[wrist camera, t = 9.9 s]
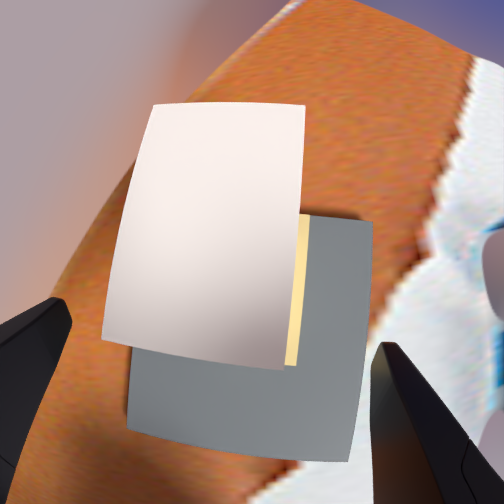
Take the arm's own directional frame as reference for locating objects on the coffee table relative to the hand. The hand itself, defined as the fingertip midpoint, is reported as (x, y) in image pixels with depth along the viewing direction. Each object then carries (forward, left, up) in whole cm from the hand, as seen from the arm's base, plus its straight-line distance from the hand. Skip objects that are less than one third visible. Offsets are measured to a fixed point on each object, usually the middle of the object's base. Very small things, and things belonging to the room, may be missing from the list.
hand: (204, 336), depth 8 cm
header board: (0, 0, -12) cm, 12 cm away
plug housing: (+3, +1, -10) cm, 11 cm away
